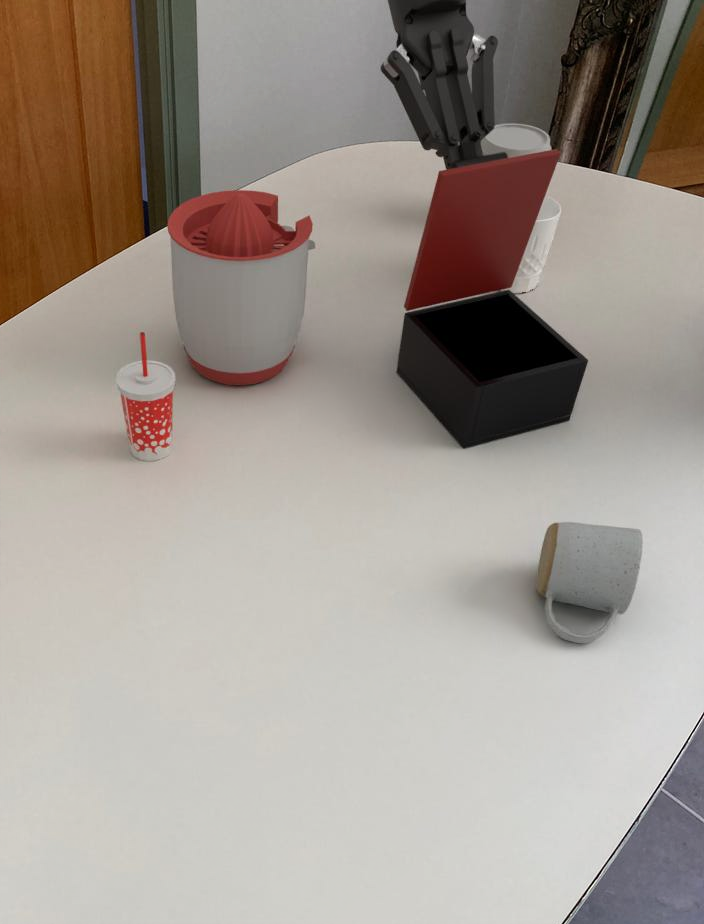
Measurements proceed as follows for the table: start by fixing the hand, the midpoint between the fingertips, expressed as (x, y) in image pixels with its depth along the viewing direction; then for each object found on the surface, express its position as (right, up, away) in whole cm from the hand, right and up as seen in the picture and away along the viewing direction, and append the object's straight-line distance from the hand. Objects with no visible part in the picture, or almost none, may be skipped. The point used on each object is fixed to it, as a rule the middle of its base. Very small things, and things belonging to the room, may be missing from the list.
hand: (475, 209), depth 104 cm
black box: (+3, -17, +9) cm, 20 cm away
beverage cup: (-35, -25, +3) cm, 43 cm away
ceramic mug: (+6, -42, -12) cm, 45 cm away
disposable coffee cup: (+13, +14, +37) cm, 41 cm away
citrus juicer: (-24, -12, +15) cm, 31 cm away
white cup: (+11, +2, +26) cm, 29 cm away
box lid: (+1, -3, +1) cm, 3 cm away
